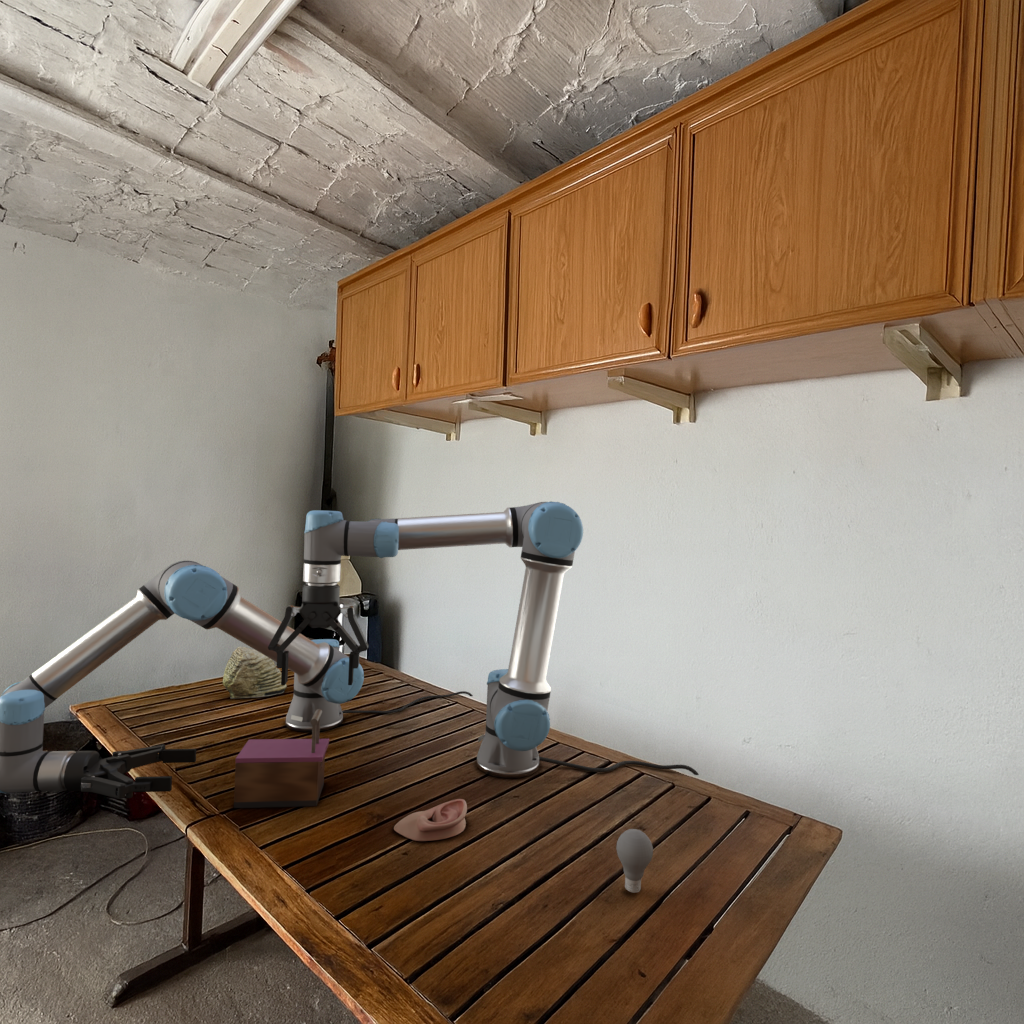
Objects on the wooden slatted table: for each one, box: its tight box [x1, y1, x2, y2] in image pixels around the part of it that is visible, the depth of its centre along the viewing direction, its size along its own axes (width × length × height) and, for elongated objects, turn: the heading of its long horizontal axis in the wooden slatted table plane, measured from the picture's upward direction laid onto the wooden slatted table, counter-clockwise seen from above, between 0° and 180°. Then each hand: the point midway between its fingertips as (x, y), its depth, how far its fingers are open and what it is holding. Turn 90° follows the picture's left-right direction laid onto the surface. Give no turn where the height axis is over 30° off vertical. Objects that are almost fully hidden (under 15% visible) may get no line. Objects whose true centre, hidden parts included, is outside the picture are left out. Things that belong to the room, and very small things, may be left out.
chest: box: [233, 754, 326, 809], centre depth 133 cm, size 16×10×9 cm, turn 98°
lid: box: [235, 709, 330, 764], centre depth 133 cm, size 17×10×8 cm, turn 98°
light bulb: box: [615, 828, 654, 894], centre depth 106 cm, size 6×6×10 cm
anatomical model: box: [393, 798, 468, 842], centre depth 123 cm, size 13×4×12 cm
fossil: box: [222, 646, 288, 699], centre depth 198 cm, size 9×18×15 cm, turn 132°
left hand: (184, 768), depth 131 cm, fingers open, 13 cm apart
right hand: (317, 683), depth 134 cm, fingers open, 13 cm apart
